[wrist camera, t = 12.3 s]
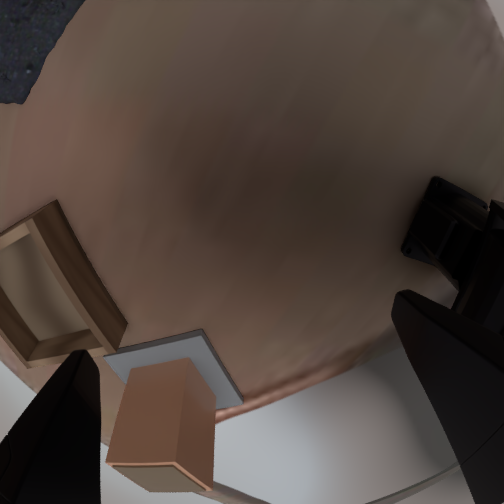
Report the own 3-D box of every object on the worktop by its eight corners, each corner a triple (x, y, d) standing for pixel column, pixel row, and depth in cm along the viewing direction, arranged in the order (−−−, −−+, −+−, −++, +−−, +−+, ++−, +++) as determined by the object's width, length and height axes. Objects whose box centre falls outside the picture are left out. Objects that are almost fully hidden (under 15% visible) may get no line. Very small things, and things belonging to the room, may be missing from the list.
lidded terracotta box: (188, 356, 26) (174, 464, 17) (216, 396, 29) (212, 492, 20) (131, 368, 27) (104, 464, 18) (162, 405, 29) (148, 493, 20)
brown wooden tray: (56, 199, 20) (31, 218, 17) (127, 323, 25) (116, 352, 22) (-23, 248, 21) (-44, 267, 18) (40, 344, 26) (27, 368, 23)
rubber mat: (202, 328, 25) (201, 335, 25) (243, 397, 30) (243, 404, 29) (105, 351, 27) (103, 357, 26) (157, 412, 31) (156, 417, 30)
